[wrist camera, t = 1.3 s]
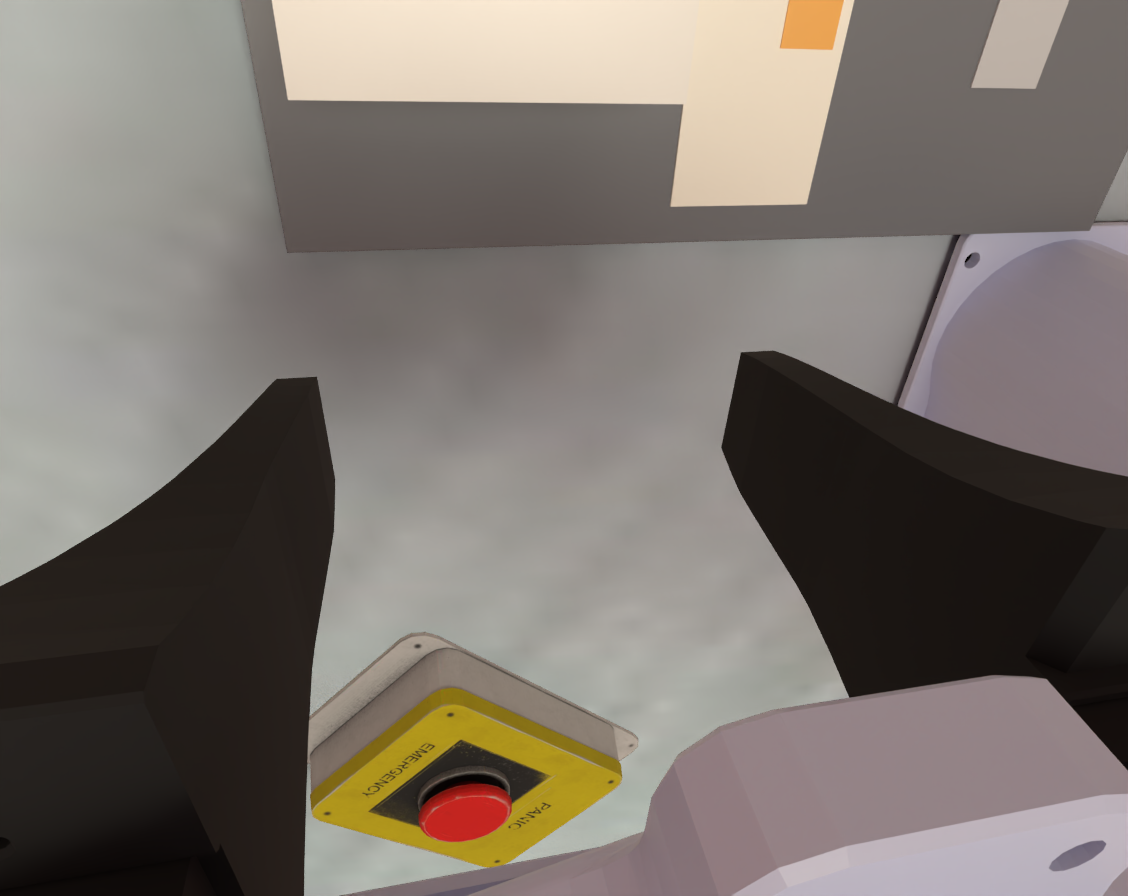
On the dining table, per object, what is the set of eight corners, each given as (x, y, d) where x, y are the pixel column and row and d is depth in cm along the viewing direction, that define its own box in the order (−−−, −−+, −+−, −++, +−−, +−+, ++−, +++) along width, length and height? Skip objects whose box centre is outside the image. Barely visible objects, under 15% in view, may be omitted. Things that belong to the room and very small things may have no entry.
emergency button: (420, 710, 25) (671, 814, 33) (415, 615, 29) (643, 730, 37) (260, 839, 28) (529, 907, 36) (274, 738, 31) (516, 820, 39)
